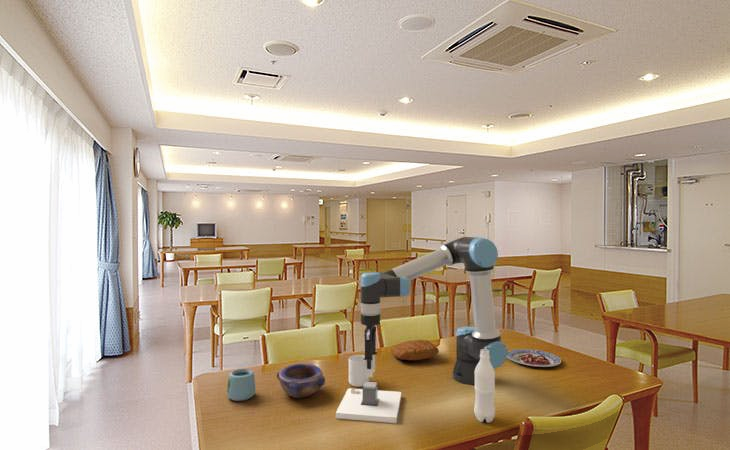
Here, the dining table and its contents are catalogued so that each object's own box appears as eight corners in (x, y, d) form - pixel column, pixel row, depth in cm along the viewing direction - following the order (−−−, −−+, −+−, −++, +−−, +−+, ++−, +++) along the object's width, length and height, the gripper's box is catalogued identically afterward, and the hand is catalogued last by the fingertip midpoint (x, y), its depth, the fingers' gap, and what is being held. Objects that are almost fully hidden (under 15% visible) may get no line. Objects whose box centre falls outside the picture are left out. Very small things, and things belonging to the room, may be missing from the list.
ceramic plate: (564, 358, 214) (564, 353, 214) (557, 374, 192) (557, 368, 192) (512, 350, 228) (512, 344, 228) (500, 364, 206) (501, 358, 206)
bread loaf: (427, 352, 224) (427, 337, 224) (440, 362, 207) (440, 346, 207) (388, 355, 219) (388, 340, 218) (399, 366, 202) (399, 350, 202)
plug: (377, 404, 160) (377, 382, 160) (375, 410, 155) (375, 387, 155) (364, 403, 161) (364, 381, 161) (362, 409, 156) (362, 386, 156)
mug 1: (225, 390, 174) (225, 366, 173) (252, 386, 178) (252, 363, 178) (228, 404, 160) (228, 379, 160) (257, 399, 164) (257, 375, 164)
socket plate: (401, 396, 167) (401, 389, 167) (396, 423, 145) (396, 414, 145) (348, 393, 171) (348, 385, 171) (335, 418, 149) (335, 409, 149)
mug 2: (370, 387, 177) (370, 361, 177) (350, 388, 175) (350, 362, 175) (365, 376, 189) (365, 352, 189) (346, 377, 187) (346, 353, 187)
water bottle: (471, 415, 151) (471, 347, 151) (490, 414, 152) (490, 347, 152) (478, 424, 144) (478, 353, 144) (498, 424, 145) (498, 353, 144)
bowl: (286, 407, 158) (286, 381, 158) (273, 390, 174) (273, 366, 174) (329, 398, 166) (329, 373, 166) (313, 382, 182) (313, 359, 182)
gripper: (364, 308, 167) (364, 365, 167) (356, 318, 149) (356, 382, 150) (382, 308, 166) (382, 366, 166) (377, 319, 148) (376, 383, 149)
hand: (370, 374), depth 158 cm, fingers open, 4 cm apart
